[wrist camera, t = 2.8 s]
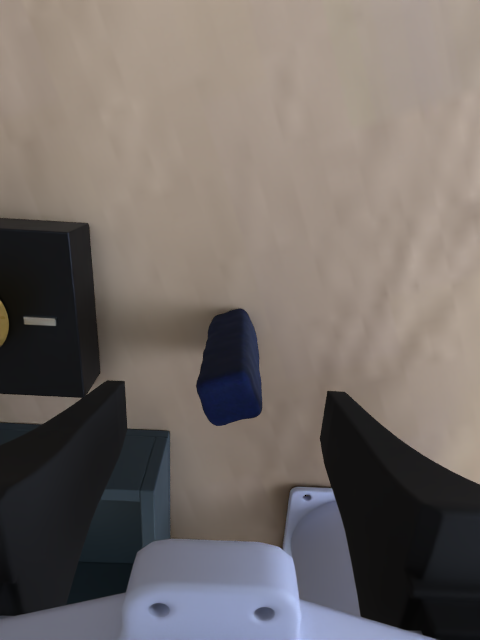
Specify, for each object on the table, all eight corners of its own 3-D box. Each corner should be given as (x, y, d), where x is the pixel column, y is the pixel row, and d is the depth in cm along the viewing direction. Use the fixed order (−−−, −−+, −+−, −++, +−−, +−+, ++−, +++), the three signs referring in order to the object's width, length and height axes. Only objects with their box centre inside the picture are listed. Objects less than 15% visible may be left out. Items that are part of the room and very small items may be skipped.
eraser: (259, 342, 22) (266, 419, 15) (218, 352, 22) (209, 432, 15) (248, 305, 21) (251, 369, 14) (206, 315, 21) (191, 384, 15)
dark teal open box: (169, 430, 24) (154, 491, 19) (170, 564, 28) (158, 638, 23) (-67, 419, 23) (-136, 478, 19) (-31, 555, 27) (-81, 629, 23)
